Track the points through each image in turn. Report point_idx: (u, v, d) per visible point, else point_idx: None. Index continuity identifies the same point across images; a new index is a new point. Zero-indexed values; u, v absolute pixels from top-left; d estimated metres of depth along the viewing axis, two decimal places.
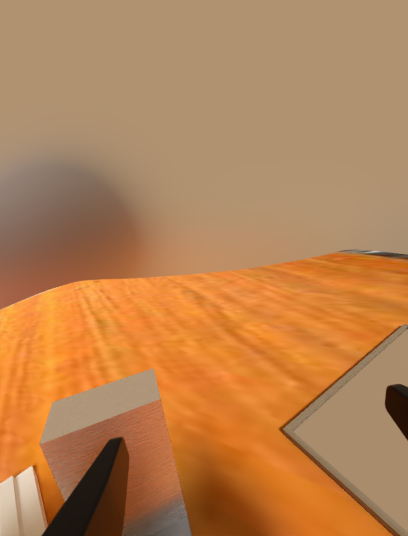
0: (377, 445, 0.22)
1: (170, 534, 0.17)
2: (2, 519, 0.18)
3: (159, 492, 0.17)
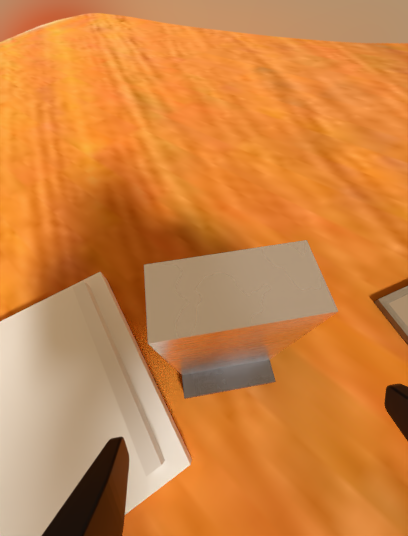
0: None
1: (252, 369, 0.18)
2: (87, 320, 0.18)
3: (258, 354, 0.15)
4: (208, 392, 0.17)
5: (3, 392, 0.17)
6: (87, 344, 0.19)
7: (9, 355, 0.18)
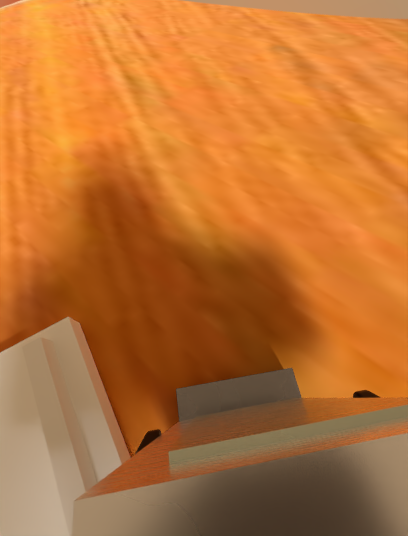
0: None
1: None
2: (40, 406, 0.12)
3: None
4: None
5: None
6: (41, 439, 0.12)
7: None
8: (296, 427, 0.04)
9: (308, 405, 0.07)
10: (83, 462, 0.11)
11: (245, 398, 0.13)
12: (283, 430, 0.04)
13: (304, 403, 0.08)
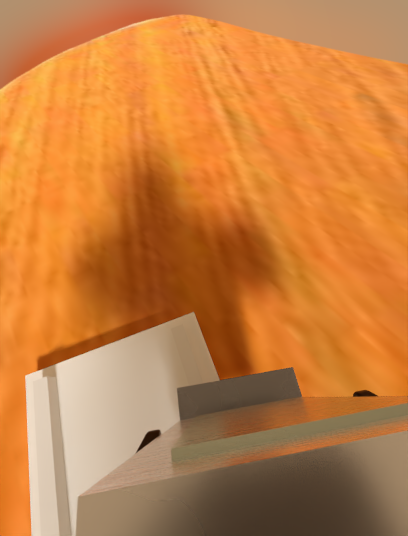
0: None
1: None
2: (186, 371, 0.18)
3: None
4: None
5: (98, 428, 0.17)
6: None
7: (104, 389, 0.18)
8: (298, 425, 0.04)
9: (309, 404, 0.07)
10: None
11: (246, 397, 0.13)
12: (285, 428, 0.04)
13: (305, 402, 0.08)
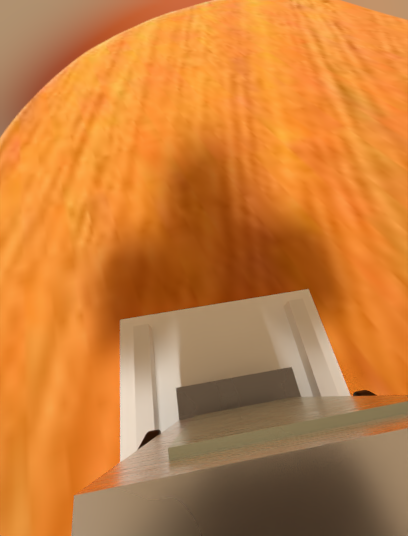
0: None
1: None
2: (308, 351, 0.15)
3: None
4: None
5: None
6: None
7: (204, 352, 0.16)
8: (295, 424, 0.04)
9: (307, 403, 0.07)
10: None
11: (245, 397, 0.13)
12: (282, 427, 0.04)
13: (303, 401, 0.08)
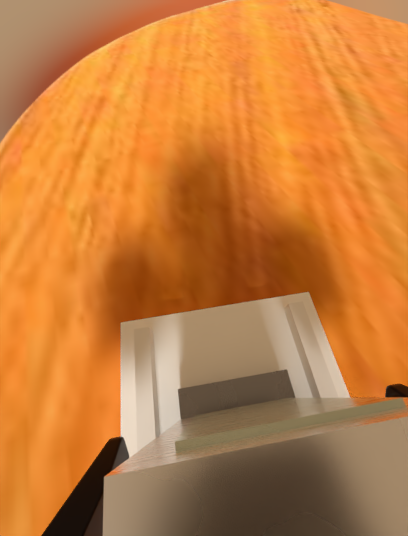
0: None
1: None
2: (308, 354, 0.15)
3: None
4: None
5: None
6: (293, 379, 0.16)
7: (205, 355, 0.16)
8: (280, 422, 0.05)
9: (297, 404, 0.08)
10: None
11: (242, 398, 0.14)
12: (269, 424, 0.05)
13: (294, 402, 0.08)
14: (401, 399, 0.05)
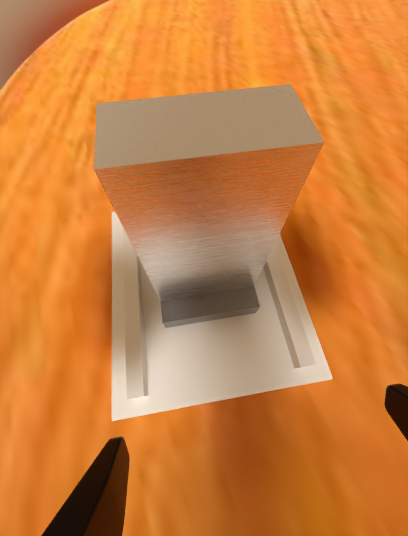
0: None
1: (236, 295, 0.17)
2: None
3: (240, 265, 0.14)
4: (188, 317, 0.16)
5: None
6: None
7: None
8: None
9: None
10: None
11: None
12: None
13: None
14: None
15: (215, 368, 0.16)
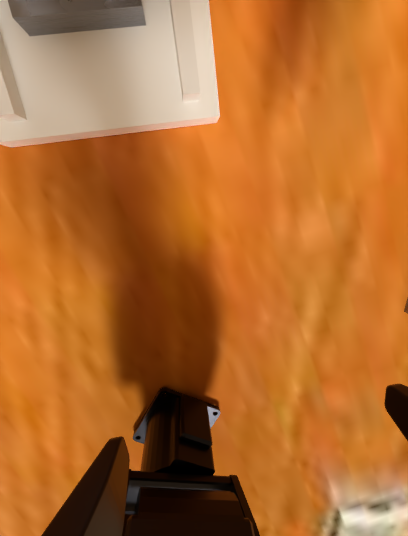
0: None
1: None
2: None
3: None
4: (46, 12, 0.12)
5: None
6: None
7: None
8: None
9: None
10: None
11: None
12: None
13: None
14: None
15: (97, 95, 0.15)
